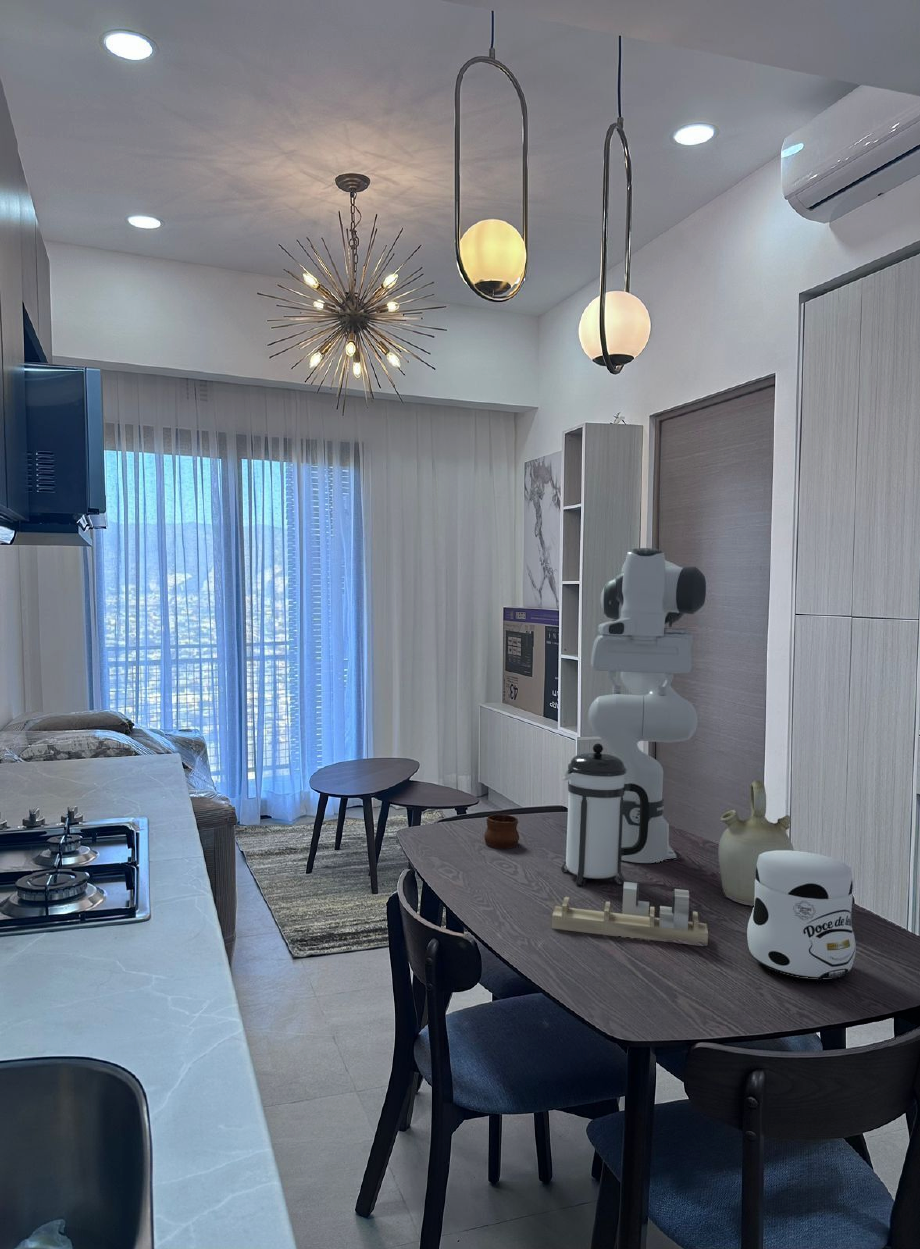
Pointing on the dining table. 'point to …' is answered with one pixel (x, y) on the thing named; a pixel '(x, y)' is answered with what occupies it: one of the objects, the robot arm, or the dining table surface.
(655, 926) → the rail
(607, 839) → the coffee press
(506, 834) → the ceramic pot
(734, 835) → the jug
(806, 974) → the milk container
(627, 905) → the grey block
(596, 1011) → the dining table surface
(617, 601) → the robot arm
